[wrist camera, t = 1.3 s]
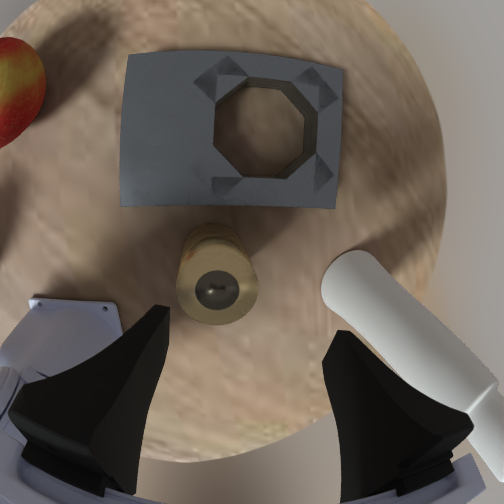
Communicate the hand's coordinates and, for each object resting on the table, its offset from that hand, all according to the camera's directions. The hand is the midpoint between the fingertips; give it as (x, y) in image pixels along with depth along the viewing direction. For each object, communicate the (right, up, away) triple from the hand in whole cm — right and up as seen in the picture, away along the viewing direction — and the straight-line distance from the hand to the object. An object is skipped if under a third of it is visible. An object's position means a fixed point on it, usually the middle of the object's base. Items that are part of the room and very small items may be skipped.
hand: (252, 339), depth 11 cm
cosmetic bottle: (+9, +1, +12) cm, 15 cm away
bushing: (-3, +4, +9) cm, 10 cm away
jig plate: (-1, +12, +6) cm, 14 cm away
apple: (-18, +16, +2) cm, 24 cm away
